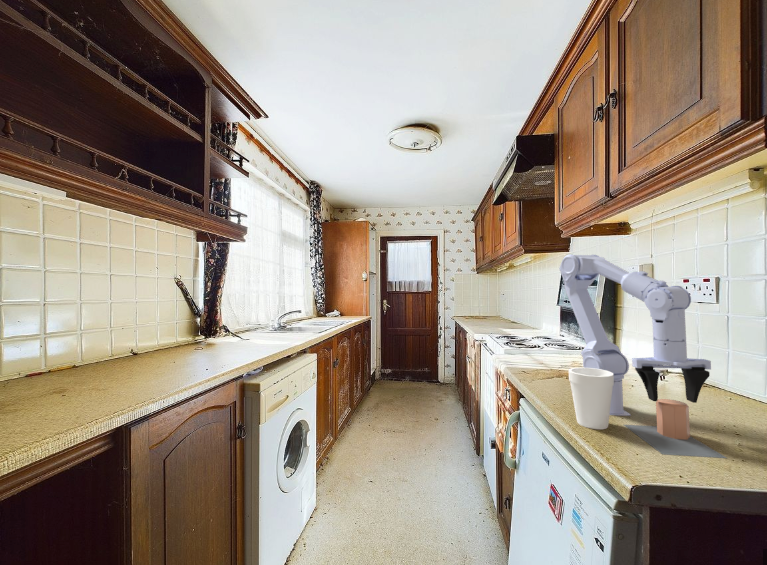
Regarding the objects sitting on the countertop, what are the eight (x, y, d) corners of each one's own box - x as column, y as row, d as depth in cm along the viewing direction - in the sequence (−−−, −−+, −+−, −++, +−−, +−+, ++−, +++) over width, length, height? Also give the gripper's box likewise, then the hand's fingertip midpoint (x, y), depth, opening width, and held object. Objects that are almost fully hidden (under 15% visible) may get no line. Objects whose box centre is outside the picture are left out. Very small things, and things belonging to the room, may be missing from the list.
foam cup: (564, 425, 82) (563, 372, 83) (576, 415, 89) (574, 365, 89) (610, 437, 76) (608, 378, 76) (619, 425, 82) (617, 371, 82)
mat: (623, 426, 81) (623, 424, 81) (675, 428, 79) (675, 426, 79) (662, 456, 67) (662, 454, 67) (727, 460, 65) (727, 458, 65)
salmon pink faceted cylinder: (653, 428, 79) (651, 398, 79) (678, 430, 78) (677, 399, 78) (667, 438, 73) (666, 406, 74) (695, 440, 72) (693, 407, 73)
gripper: (643, 342, 73) (646, 405, 73) (720, 342, 71) (724, 407, 70) (626, 337, 80) (628, 395, 80) (696, 338, 78) (699, 397, 77)
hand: (672, 400), depth 76 cm, fingers open, 7 cm apart
